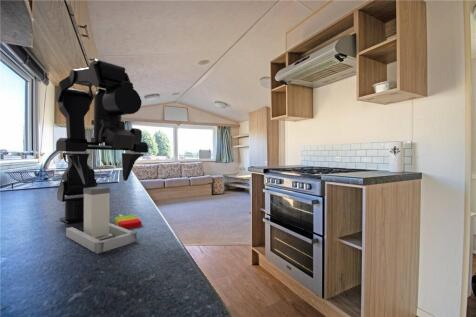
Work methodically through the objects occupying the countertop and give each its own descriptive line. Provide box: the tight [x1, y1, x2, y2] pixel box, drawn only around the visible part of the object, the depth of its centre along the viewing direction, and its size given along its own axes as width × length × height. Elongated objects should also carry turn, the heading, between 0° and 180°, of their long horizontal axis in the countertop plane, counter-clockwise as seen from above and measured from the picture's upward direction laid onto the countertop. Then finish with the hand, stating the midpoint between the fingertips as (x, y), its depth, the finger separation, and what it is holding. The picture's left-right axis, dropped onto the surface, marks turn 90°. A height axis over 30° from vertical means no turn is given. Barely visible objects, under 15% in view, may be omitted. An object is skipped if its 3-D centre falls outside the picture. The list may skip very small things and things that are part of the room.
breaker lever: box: [83, 186, 111, 238], centre depth 56 cm, size 4×4×11 cm
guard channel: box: [65, 222, 137, 255], centre depth 55 cm, size 16×8×2 cm, turn 55°
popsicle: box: [113, 213, 142, 230], centre depth 69 cm, size 6×15×2 cm, turn 38°
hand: (106, 182), depth 56 cm, fingers open, 9 cm apart
